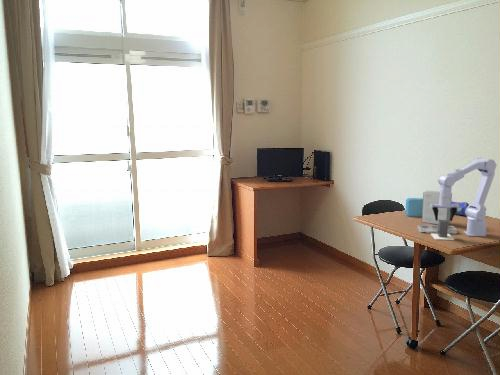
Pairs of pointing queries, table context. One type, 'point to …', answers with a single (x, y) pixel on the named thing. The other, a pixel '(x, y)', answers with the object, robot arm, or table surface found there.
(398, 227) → the table surface
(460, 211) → the pencil case
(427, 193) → the hard drive box
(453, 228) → the grey rail
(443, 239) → the mat
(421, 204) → the data package
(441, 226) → the square block
